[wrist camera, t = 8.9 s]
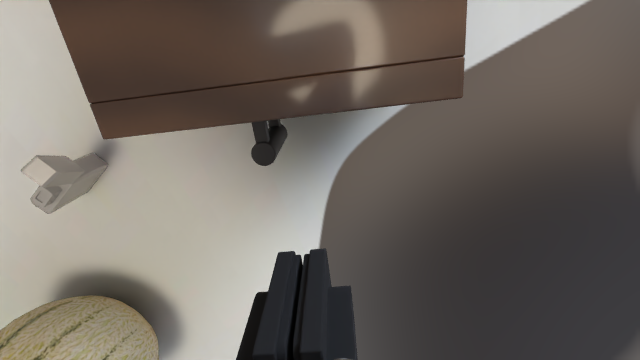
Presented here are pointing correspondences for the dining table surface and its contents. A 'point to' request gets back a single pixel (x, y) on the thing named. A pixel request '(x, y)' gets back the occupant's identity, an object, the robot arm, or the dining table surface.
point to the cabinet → (258, 58)
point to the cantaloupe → (80, 332)
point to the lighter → (62, 179)
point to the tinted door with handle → (267, 141)
